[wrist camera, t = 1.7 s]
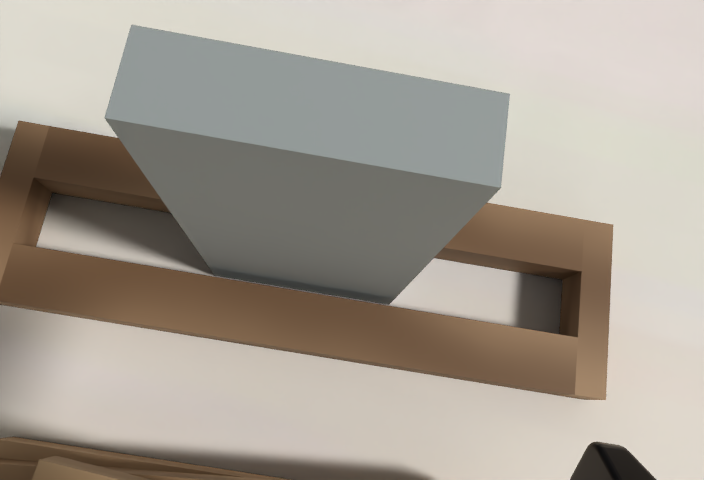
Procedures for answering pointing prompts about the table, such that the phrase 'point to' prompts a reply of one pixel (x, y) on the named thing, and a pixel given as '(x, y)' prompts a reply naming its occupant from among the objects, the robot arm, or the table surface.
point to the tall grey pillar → (306, 160)
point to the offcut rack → (285, 300)
